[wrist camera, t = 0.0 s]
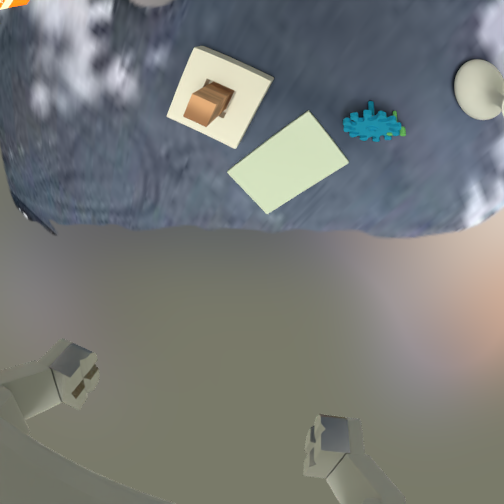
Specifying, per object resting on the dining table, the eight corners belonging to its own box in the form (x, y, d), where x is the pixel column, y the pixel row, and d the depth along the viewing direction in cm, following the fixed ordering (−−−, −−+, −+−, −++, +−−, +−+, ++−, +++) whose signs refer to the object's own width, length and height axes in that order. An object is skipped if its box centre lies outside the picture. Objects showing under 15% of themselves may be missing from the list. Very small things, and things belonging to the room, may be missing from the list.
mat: (308, 109, 52) (308, 111, 51) (348, 160, 56) (349, 162, 55) (228, 170, 62) (226, 172, 62) (267, 211, 67) (267, 214, 66)
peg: (214, 80, 50) (192, 93, 42) (234, 90, 51) (216, 104, 42) (206, 99, 53) (182, 116, 44) (225, 108, 53) (206, 127, 45)
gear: (335, 138, 52) (353, 112, 42) (335, 109, 53) (351, 81, 43) (392, 149, 52) (417, 128, 43) (391, 122, 53) (414, 97, 43)
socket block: (202, 45, 47) (194, 47, 44) (274, 77, 49) (271, 81, 46) (175, 110, 56) (166, 116, 53) (240, 141, 58) (235, 149, 55)
